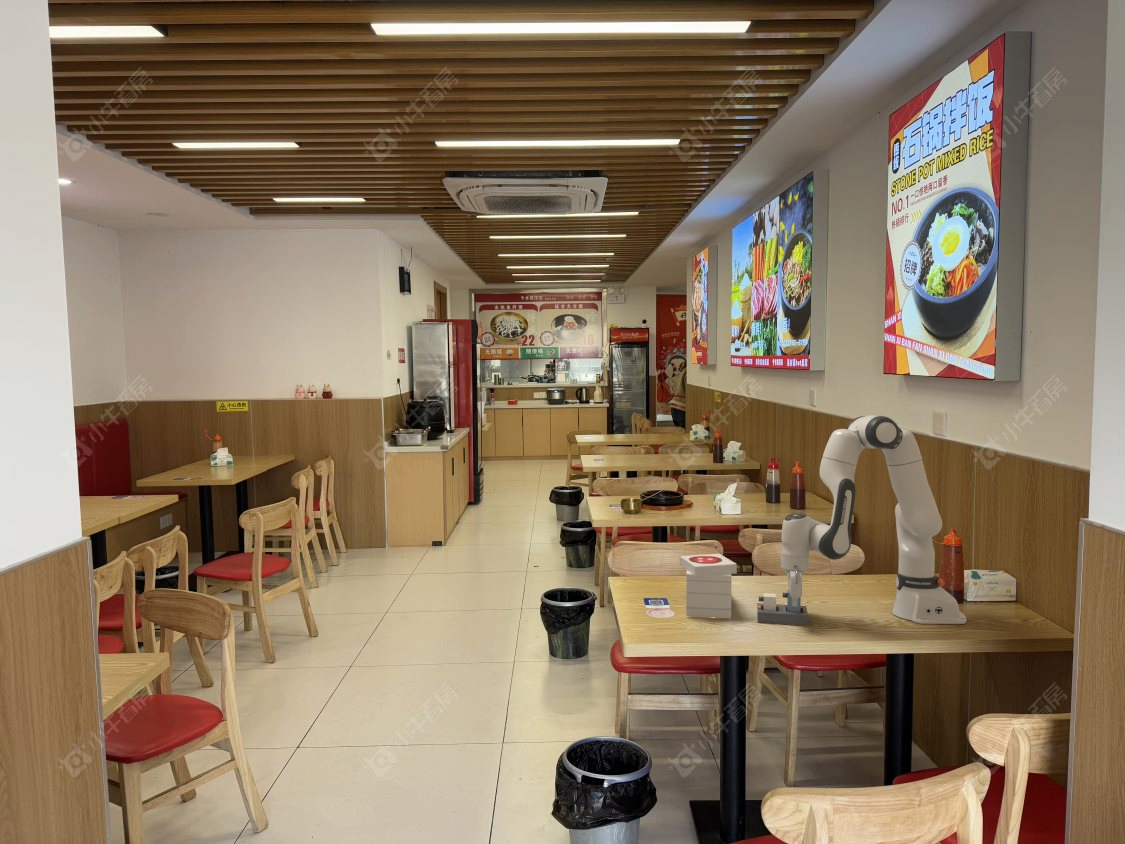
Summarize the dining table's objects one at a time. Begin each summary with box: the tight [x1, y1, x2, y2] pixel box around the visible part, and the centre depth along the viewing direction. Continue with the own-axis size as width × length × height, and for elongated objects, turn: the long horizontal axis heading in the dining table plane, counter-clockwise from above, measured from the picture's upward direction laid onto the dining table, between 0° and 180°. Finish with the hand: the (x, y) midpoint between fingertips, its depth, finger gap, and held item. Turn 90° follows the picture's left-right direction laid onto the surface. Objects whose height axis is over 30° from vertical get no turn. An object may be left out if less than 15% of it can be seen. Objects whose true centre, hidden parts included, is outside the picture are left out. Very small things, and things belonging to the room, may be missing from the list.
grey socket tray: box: [756, 602, 809, 626], centre depth 257 cm, size 16×10×4 cm, turn 76°
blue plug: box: [782, 588, 802, 613], centre depth 256 cm, size 6×4×8 cm
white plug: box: [758, 592, 777, 611], centre depth 258 cm, size 6×4×8 cm
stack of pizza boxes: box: [679, 553, 738, 619], centre depth 271 cm, size 19×30×18 cm, turn 170°
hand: (794, 603), depth 256 cm, fingers closed on blue plug, 4 cm apart
